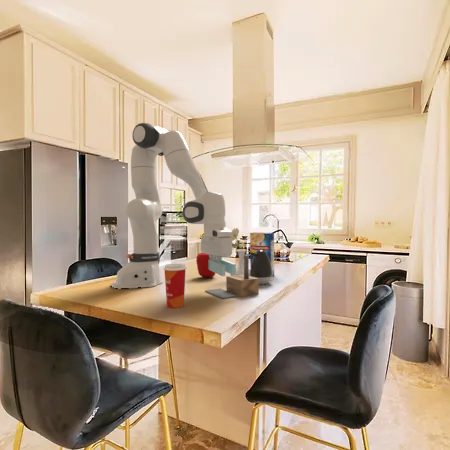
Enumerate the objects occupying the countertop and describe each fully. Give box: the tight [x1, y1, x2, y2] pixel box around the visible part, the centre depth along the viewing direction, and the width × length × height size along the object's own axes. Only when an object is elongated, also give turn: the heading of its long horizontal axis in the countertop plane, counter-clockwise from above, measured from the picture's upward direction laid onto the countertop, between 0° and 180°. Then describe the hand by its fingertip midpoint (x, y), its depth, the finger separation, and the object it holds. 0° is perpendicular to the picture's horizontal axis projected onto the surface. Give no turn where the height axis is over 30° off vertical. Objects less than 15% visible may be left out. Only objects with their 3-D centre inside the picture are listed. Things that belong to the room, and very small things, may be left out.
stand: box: [225, 254, 260, 297], centre depth 125 cm, size 8×11×15 cm
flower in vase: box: [229, 227, 250, 276], centre depth 157 cm, size 13×11×25 cm
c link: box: [208, 258, 237, 277], centre depth 123 cm, size 11×6×4 cm, turn 31°
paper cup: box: [163, 263, 187, 309], centre depth 107 cm, size 8×8×14 cm
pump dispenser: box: [249, 250, 273, 285], centre depth 143 cm, size 10×10×15 cm
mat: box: [204, 288, 240, 300], centre depth 123 cm, size 7×14×1 cm, turn 31°
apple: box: [195, 252, 216, 279], centre depth 158 cm, size 10×10×14 cm
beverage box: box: [249, 232, 275, 277], centre depth 163 cm, size 7×11×22 cm, turn 67°
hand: (215, 266), depth 127 cm, fingers closed on c link, 2 cm apart
